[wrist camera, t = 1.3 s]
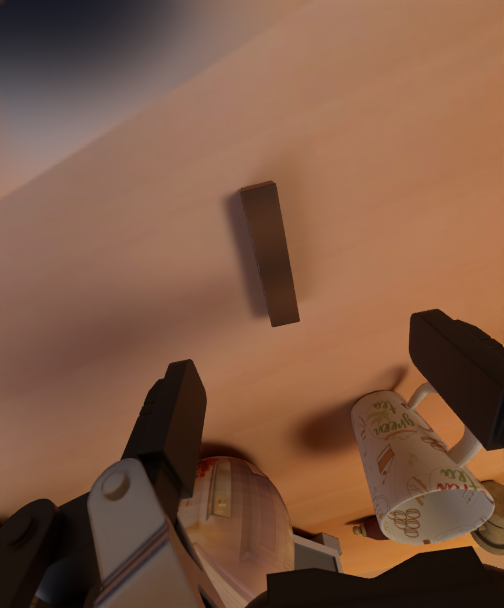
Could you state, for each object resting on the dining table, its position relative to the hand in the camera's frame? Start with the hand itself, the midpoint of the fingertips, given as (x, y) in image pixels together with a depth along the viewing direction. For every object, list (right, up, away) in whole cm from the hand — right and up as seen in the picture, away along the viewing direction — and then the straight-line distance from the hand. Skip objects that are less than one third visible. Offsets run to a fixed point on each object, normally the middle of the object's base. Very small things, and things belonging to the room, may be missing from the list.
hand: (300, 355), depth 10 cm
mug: (+12, -8, +18) cm, 24 cm away
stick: (0, +6, +11) cm, 12 cm away
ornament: (-5, -18, +23) cm, 30 cm away
